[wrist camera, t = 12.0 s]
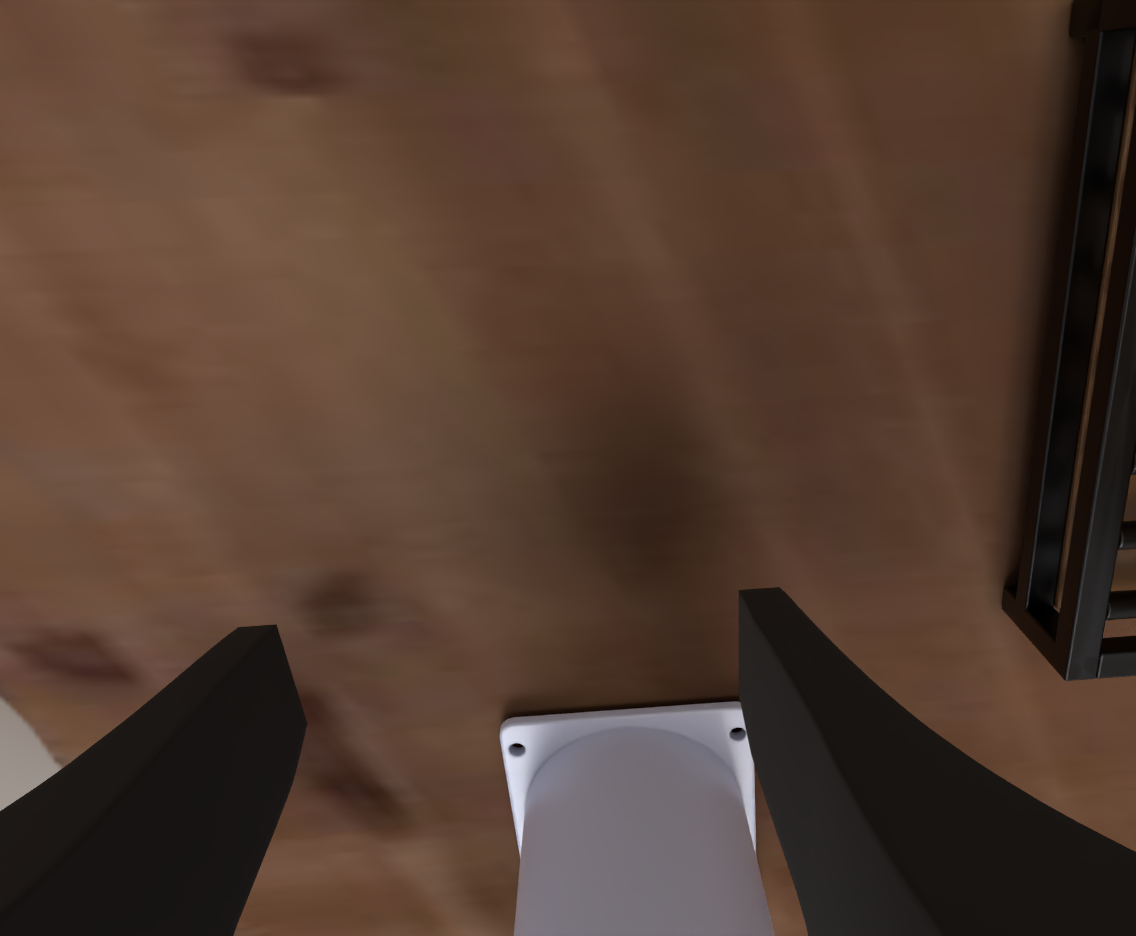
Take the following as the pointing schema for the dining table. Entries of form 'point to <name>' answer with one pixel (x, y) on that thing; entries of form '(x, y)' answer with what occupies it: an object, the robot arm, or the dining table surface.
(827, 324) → the dining table surface
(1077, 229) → the rack
